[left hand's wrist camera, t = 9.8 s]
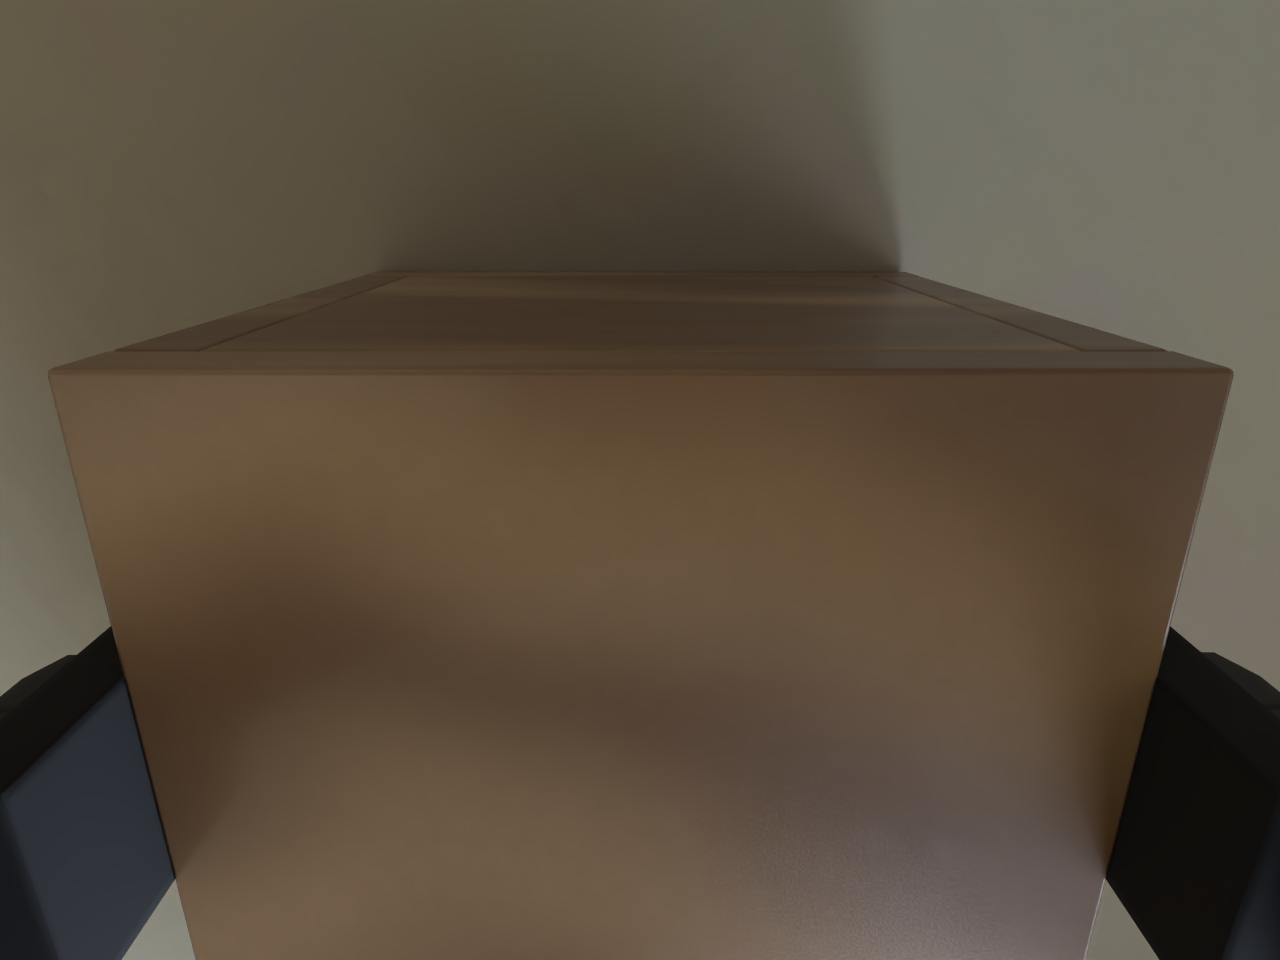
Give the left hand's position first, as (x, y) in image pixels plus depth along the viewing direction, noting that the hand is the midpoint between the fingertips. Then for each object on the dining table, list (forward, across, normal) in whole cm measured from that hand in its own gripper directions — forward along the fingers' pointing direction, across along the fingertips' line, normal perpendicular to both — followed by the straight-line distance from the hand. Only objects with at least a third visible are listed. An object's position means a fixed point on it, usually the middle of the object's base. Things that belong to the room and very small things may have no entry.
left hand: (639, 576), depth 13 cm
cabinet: (+5, 0, -6) cm, 7 cm away
